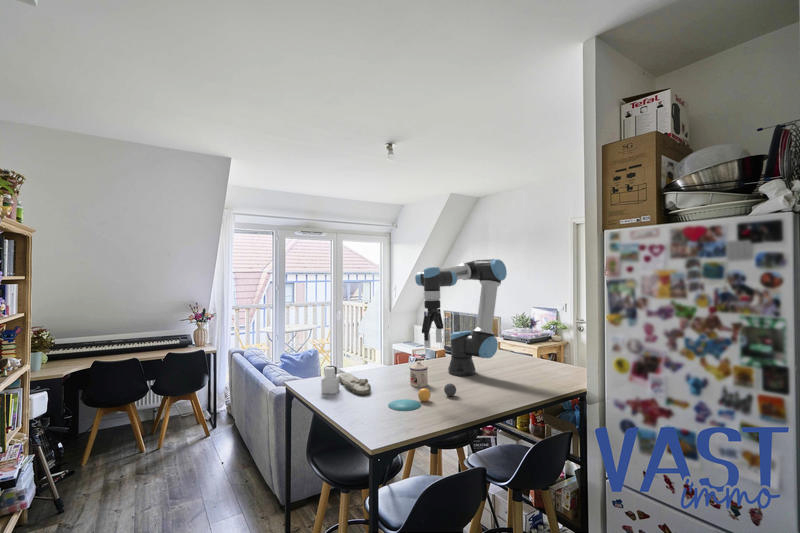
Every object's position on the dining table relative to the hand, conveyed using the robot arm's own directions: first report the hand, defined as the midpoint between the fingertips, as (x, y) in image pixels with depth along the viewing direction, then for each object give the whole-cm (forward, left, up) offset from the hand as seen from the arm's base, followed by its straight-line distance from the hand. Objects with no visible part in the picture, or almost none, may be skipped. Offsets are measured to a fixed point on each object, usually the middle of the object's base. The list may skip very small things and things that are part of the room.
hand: (433, 345), depth 182 cm
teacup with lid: (-1, -13, -23) cm, 26 cm away
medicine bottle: (+41, -27, -23) cm, 54 cm away
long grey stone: (+28, -30, -23) cm, 47 cm away
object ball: (+10, +8, -20) cm, 23 cm away
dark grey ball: (-4, +8, -20) cm, 21 cm away
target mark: (+20, +8, -22) cm, 31 cm away
